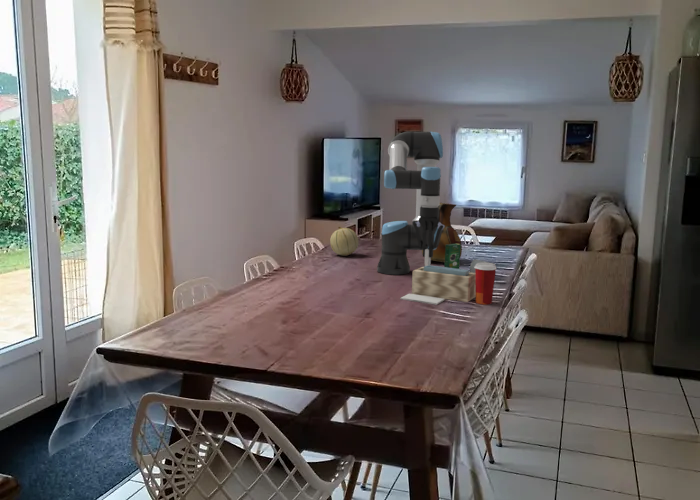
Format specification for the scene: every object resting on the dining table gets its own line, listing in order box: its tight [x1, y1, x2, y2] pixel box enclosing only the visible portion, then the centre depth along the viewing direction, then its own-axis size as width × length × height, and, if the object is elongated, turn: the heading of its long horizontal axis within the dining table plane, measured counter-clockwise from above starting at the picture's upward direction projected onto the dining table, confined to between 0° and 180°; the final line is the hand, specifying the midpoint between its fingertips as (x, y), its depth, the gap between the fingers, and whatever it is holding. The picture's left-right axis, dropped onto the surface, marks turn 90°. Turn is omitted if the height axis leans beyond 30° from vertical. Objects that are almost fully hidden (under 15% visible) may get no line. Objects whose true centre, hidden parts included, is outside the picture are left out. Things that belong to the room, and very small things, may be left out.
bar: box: [423, 265, 470, 276], centre depth 256 cm, size 17×4×4 cm, turn 61°
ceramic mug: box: [469, 259, 489, 273], centre depth 293 cm, size 11×8×8 cm
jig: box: [411, 266, 476, 303], centre depth 257 cm, size 23×10×10 cm, turn 61°
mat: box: [400, 293, 446, 306], centre depth 251 cm, size 8×15×1 cm, turn 61°
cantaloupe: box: [329, 226, 359, 257], centre depth 337 cm, size 15×15×15 cm
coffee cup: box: [474, 262, 497, 306], centre depth 246 cm, size 8×8×15 cm
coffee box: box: [443, 243, 462, 269], centre depth 302 cm, size 8×3×13 cm, turn 129°
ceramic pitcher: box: [421, 201, 463, 263], centre depth 324 cm, size 20×20×30 cm
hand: (427, 265), depth 259 cm, fingers closed
